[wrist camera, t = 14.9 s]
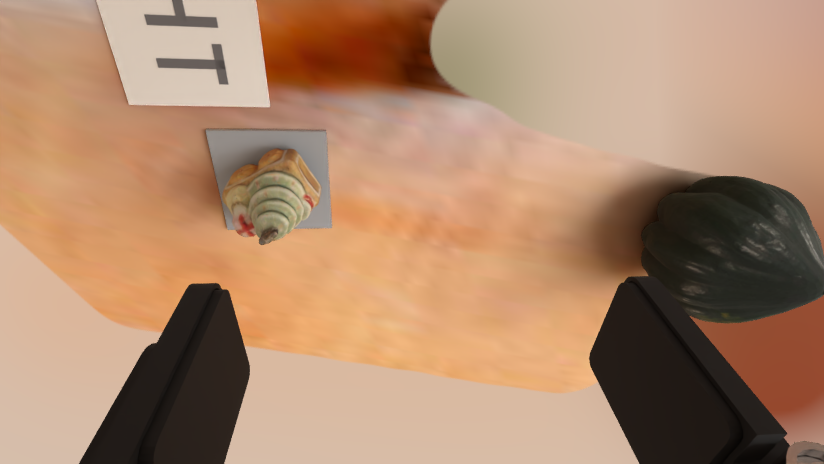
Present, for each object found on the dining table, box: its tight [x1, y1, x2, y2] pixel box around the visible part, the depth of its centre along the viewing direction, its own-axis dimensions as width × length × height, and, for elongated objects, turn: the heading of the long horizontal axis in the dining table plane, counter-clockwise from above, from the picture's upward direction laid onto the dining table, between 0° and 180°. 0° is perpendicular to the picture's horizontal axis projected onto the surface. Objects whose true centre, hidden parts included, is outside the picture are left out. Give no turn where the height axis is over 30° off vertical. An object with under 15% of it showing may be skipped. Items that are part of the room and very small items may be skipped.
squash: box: [641, 176, 824, 323], centre depth 42 cm, size 14×15×15 cm
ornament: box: [222, 148, 322, 245], centre depth 35 cm, size 8×6×10 cm
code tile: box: [96, 0, 270, 107], centre depth 32 cm, size 11×11×1 cm
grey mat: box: [205, 129, 332, 230], centre depth 39 cm, size 10×10×1 cm
